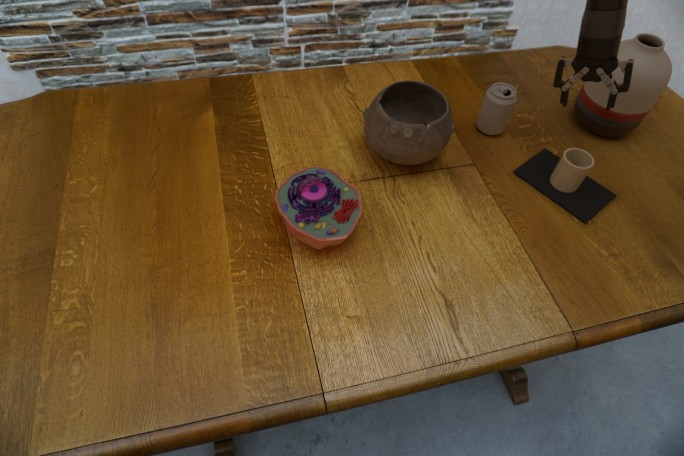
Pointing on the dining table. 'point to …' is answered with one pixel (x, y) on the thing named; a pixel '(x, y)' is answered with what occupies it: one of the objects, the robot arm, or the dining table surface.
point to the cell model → (319, 206)
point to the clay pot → (408, 122)
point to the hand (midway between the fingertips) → (586, 107)
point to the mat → (576, 203)
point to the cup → (571, 170)
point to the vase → (641, 96)
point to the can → (496, 108)
